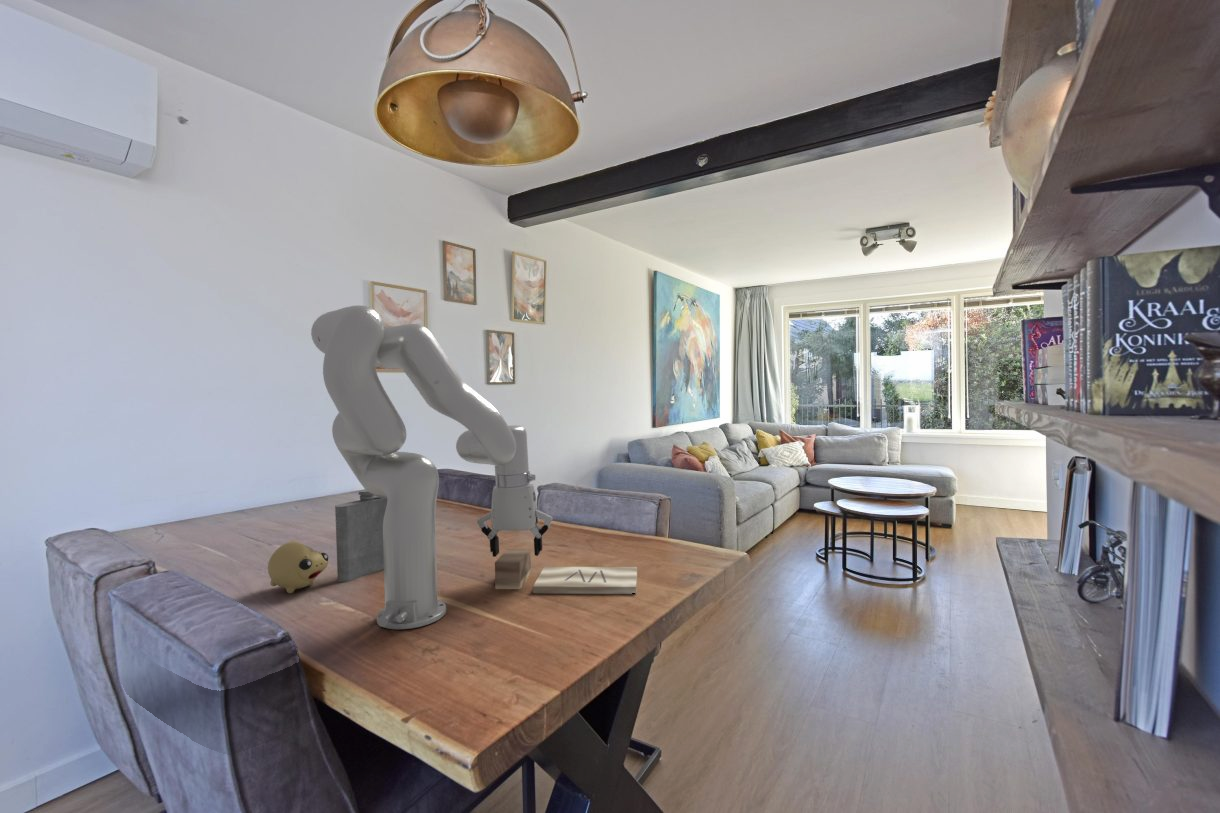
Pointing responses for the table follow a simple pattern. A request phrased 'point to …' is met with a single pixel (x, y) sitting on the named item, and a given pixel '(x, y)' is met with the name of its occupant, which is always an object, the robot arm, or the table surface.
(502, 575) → the block
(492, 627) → the table surface
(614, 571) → the birch board
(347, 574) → the hip flask
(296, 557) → the yellow round soft figure
